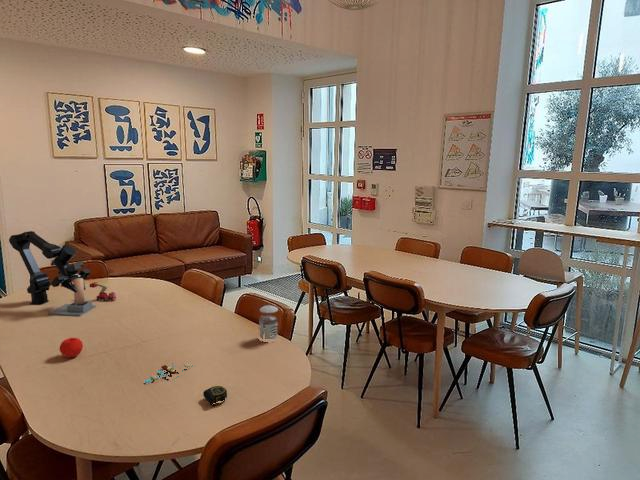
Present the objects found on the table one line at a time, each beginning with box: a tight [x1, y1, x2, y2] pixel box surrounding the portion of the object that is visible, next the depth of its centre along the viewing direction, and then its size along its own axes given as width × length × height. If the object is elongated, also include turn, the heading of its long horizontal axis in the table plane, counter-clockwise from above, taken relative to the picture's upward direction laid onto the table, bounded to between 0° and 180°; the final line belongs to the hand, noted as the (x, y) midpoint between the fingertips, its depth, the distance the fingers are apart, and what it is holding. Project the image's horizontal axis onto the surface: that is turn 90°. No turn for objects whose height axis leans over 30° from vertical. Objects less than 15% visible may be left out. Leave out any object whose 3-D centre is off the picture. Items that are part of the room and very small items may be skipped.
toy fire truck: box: [89, 281, 117, 302], centre depth 237 cm, size 3×14×10 cm, turn 84°
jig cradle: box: [47, 300, 96, 317], centre depth 219 cm, size 16×14×4 cm
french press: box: [258, 284, 279, 339], centre depth 190 cm, size 10×12×25 cm
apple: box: [58, 337, 84, 358], centre depth 169 cm, size 8×8×7 cm
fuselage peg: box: [72, 278, 86, 304], centre depth 218 cm, size 4×4×12 cm
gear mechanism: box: [143, 361, 191, 384], centre depth 158 cm, size 20×5×9 cm
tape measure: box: [202, 385, 228, 405], centre depth 141 cm, size 7×7×4 cm
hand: (80, 290), depth 217 cm, fingers closed on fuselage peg, 4 cm apart
